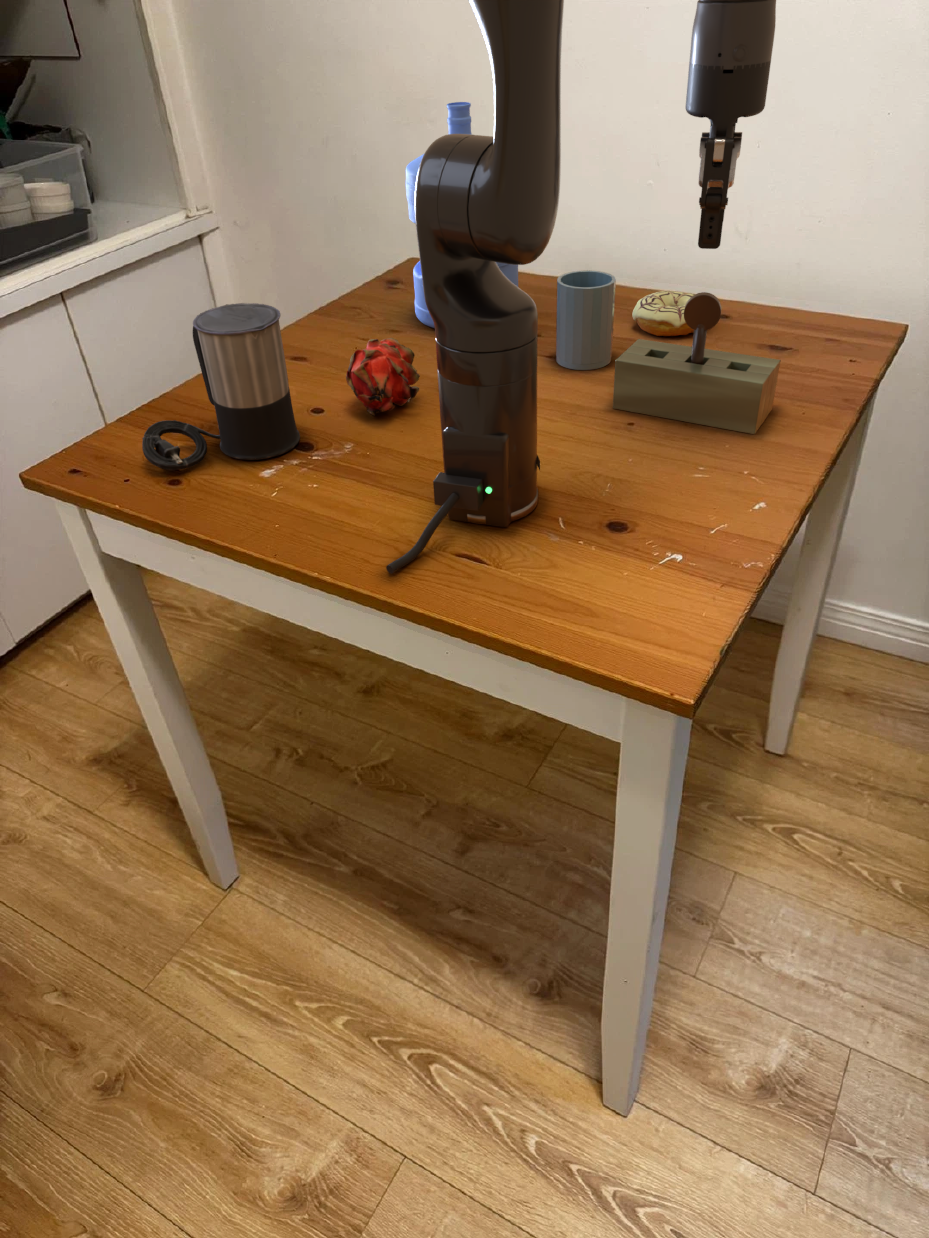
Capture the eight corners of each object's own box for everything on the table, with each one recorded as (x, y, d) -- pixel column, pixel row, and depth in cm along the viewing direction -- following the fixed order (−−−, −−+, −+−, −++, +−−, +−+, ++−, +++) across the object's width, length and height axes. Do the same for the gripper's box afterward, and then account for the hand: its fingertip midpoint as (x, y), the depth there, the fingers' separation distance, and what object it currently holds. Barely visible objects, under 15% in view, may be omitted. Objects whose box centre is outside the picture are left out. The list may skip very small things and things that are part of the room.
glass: (604, 372, 118) (608, 290, 112) (549, 367, 120) (550, 286, 114) (616, 352, 123) (621, 272, 117) (563, 347, 125) (565, 269, 119)
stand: (754, 434, 102) (763, 383, 98) (612, 408, 109) (615, 360, 105) (772, 409, 107) (780, 359, 103) (635, 385, 114) (638, 338, 110)
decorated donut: (618, 330, 130) (620, 303, 127) (658, 308, 136) (660, 282, 134) (683, 344, 124) (686, 317, 122) (721, 321, 130) (725, 295, 128)
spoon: (709, 407, 108) (723, 292, 100) (708, 412, 107) (723, 296, 99) (674, 405, 109) (686, 291, 101) (673, 410, 108) (685, 295, 100)
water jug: (538, 306, 139) (539, 97, 122) (484, 340, 129) (478, 116, 112) (452, 293, 146) (441, 93, 129) (395, 324, 136) (375, 111, 119)
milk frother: (317, 435, 107) (298, 308, 98) (225, 495, 96) (193, 359, 87) (226, 413, 113) (200, 292, 104) (130, 467, 102) (92, 338, 93)
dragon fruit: (398, 394, 119) (389, 448, 111) (340, 361, 116) (326, 414, 108) (432, 345, 114) (425, 398, 105) (373, 309, 111) (361, 360, 102)
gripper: (694, 48, 93) (679, 217, 103) (684, 68, 82) (669, 255, 92) (771, 46, 91) (748, 218, 101) (772, 66, 80) (746, 257, 90)
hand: (710, 236), depth 96 cm, fingers open, 8 cm apart
